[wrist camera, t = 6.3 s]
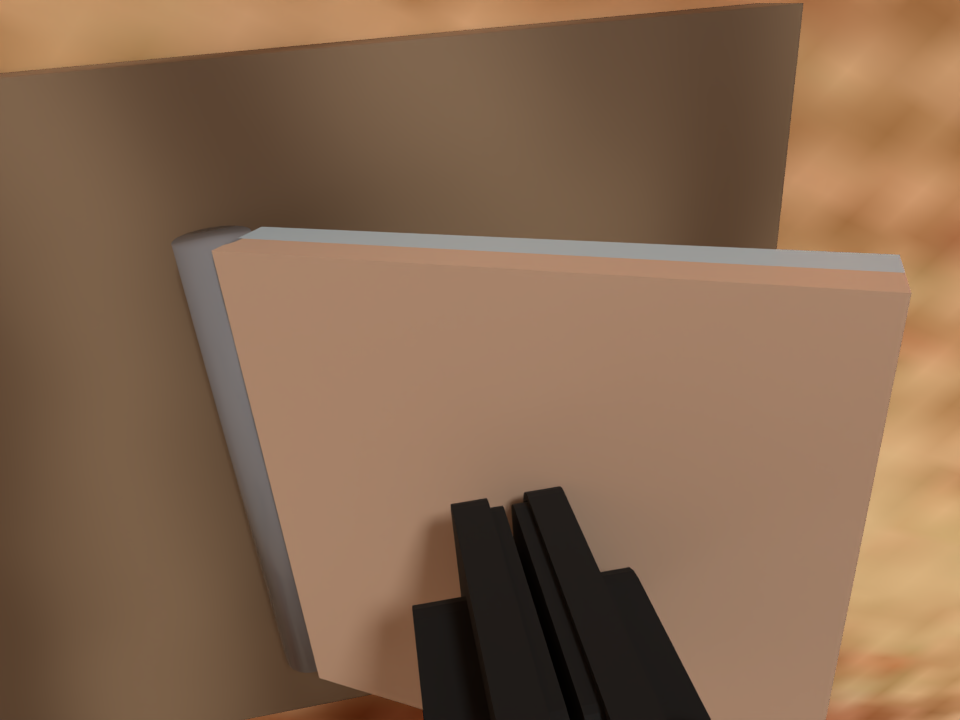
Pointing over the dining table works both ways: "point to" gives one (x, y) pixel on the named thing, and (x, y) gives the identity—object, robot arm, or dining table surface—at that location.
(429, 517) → the tile
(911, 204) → the dining table surface
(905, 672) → the dining table surface
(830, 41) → the dining table surface
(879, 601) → the dining table surface
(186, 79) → the board
